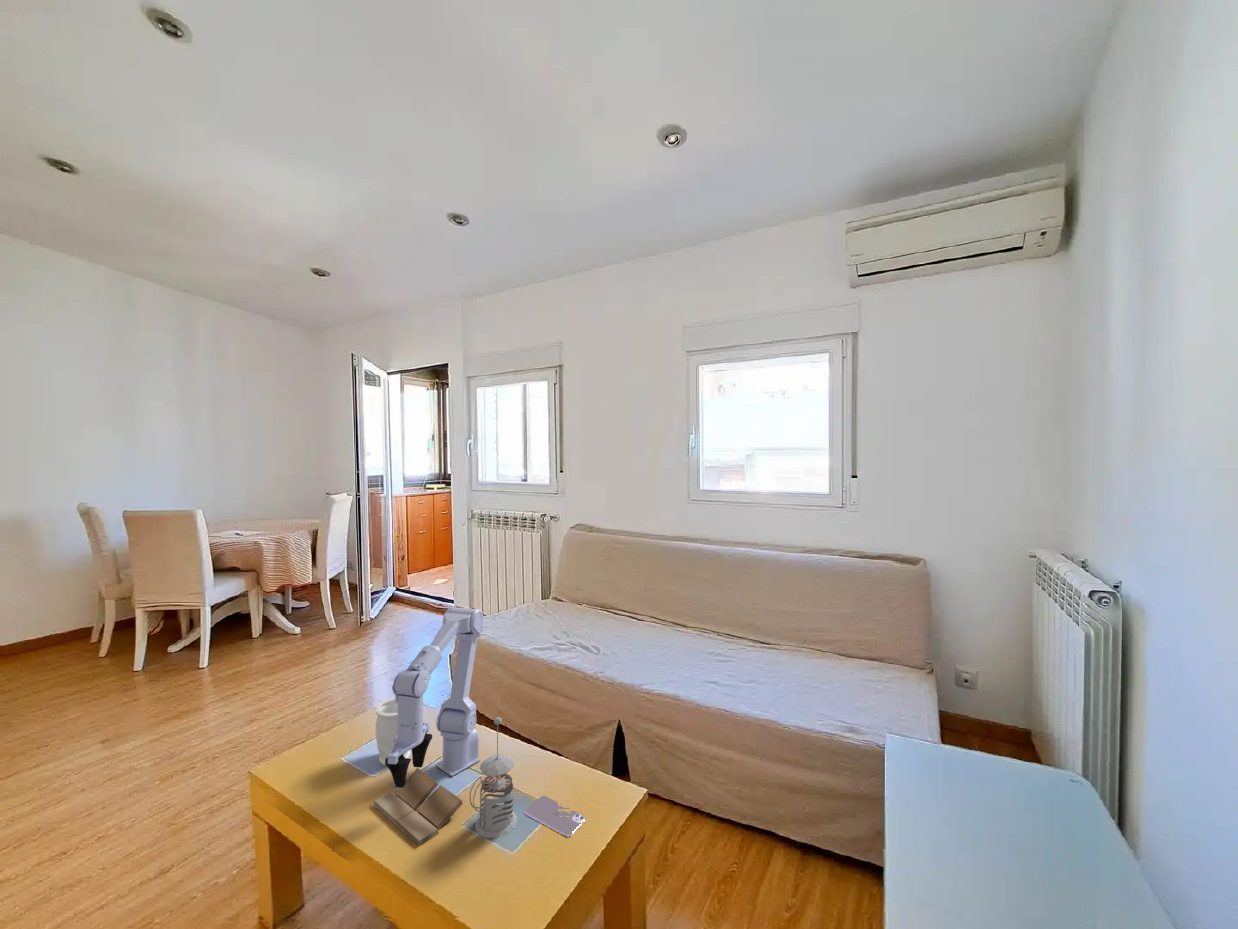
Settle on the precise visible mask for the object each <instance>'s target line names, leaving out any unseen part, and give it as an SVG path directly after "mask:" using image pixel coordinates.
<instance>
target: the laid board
mask: <svg viewBox="0 0 1238 929" xmlns="http://www.w3.org/2000/svg"><path fill="white" fill-rule="evenodd" d="M373 802H374V803H373V806H374V807H375V808H376V809H378V811H380V812H381V813H382V814H383V815H384V816H385V817H386V818H387V819H389V821H391V822H392V824H394V825H395V826H396V827H398V829H400V831H402V832H404V834H405V835H407V836H408V837H409V838H410V839H411V841H413V842H414V843H415V844H417V845H418V846H419V847H420V846H422V845H424V844H426V843H427V842H428V841H429V840H431V839H433V838H434V837H436V836H437V835H439V833H440V832H439V831H440V830H438V829H437V828H436V827H435V826H433V825H432V824H431V823H430V822H429V821H427V820H426V819H425V818H424V817H423V816H421V815H420V814H419V813H418V812H417V810H416V811H415V810H414V809H413V808H412V807H410V806H409V805H408V804H407V803H405V802H404V801H403V800H402V799H401V798H399V797H398V796H397V795H396V794H395V793H394V792H393V791H390V792H388V793H385V795H384V794H383V796H380V797H379V798H377V799H375V800H374V801H373Z"/></svg>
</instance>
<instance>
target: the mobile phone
mask: <svg viewBox="0 0 1238 929" xmlns="http://www.w3.org/2000/svg"><path fill="white" fill-rule="evenodd" d="M558 803H559V802H558V801H557V800H554V799H552V798H550V797H548V796H546V795H541V796H540V797H538V798H537V799H536V800H535V801H533V802H532V803H531V804H530V805H529V806H527V807H526V808H525V809H524V812H523V813H524V815H525V816H527V817H529V818H531V819H533V820H535V821H536V822H538V823H539V824H541V825H543V824H544V825H543V826H545V825H546V826H545V827H547V828H549V829H551V828H552V829H554V830H556V831H557V832H560V833H561V834H564V835H566V836H570V835H573V834H574V833H575V832H576V830H577V829H578V828H580V826H581V825H582V822H585V821H586V820H585V819H586V818H587V817H586V816H585V815H584V814H582V813H579V812H577V810H574V811H571V812H570V811H569V812H570V813H571V814H570V813H568V812H565V811H563V810H562V811H563V812H561V811H558V809H571V808H570V807H568V808H567V806H566V808H564V807H562V806H560V807H559V805H558ZM560 805H561V803H560ZM560 816H562V817H560ZM565 816H570V817H565ZM584 816H585V817H586V818H585V817H584ZM552 829H551V830H552ZM580 829H581V828H580ZM554 830H553V831H554ZM556 831H555V832H556ZM557 832H556V833H557ZM560 833H559V834H560ZM576 833H577V832H576ZM576 833H575V834H576ZM561 834H560V835H561ZM575 834H574V835H575ZM574 835H573V836H574Z"/></svg>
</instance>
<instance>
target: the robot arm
mask: <svg viewBox="0 0 1238 929" xmlns="http://www.w3.org/2000/svg"><path fill="white" fill-rule="evenodd" d="M484 620H485V616H484V614H483V611H482V610H481V609H480V608H465V607H456V606H450V607H448V608H447V610H446V611H445V612H444V614H443V617H442V624H441V627H440V629H439V630H438V632H437V634H436V635H435V636H434V638H433V640H432V642H430V644H429V645H426V646H423V647H422V648H421V650H420V651H419V652H418V654H417V655H416V656H415V658H414V659H413V661H412V662H411V663H410V664H409V666H408V667H407V668H406V669H404V670H401V671H400V672H398V673H397V674H396V676H395V678H394V680H393V684H392V687H391V690H392V693H393V695H394V696H395V698H394V699H395V701H396V702H397V703H398V715H397V736H395V737H394V738H393V742H395V744H394V747H393V749H392V751H391V753H390V754H389V755H388V757H387V758H386V759H385V764H386V765H385V766H386V767H387V768H388V770H389V771H390V774H391V776H392V779H393V784H394V786H395V788H403V787H404V786H405V783H406V780H407V774H408V769H409V766H410V763H411V762H412V765H413V768H418V769H420V768H423V765H424V762H425V757H426V754H427V750H428V748H429V746H430V743H431V741H432V740H433V734H432V733H429V732H430V722H423V720H424V694H425V693H426V691H427V689H428V687H429V684H430V681H431V679H432V674H433V672H434V671H435V669H436V668H437V667H438V665H439V664H440V662H441V660H442V658H443V657H442V653H443V651H444V650H445V648H447V646H448V645H449V644H450V643H451V641H453V639H454V638H455V637H456V638H457V639H458V640H459V641H458V647H457V654H456V660H455V666H454V671H453V679H452V683H451V692H450V697H449V698H448V699H446V700H445V701H443V703H441V706H440V710H439V713H438V715H437V718H436V721H435V722H436V725H435V726H436V729H437V731H438V732H440V736H442V760H441V761H439V762H436V764H435V766H436V767H437V768H438V769H440V770H442V772H444V773H446V774H447V775H449V776H450V777H454V776H456V775H457V774H459V773H461V772H463V771H464V770H467V768H469V767H472V766H473V765H475V764H476V763H478V762H480V760H481V759H480V757H479V740H480V739H479V734H478V731H477V728H475V727H476V725H477V704H476V703H475V702H474V701H472V699H471V698H470V691H471V683H472V677H473V670H474V663H475V658H476V657H475V655H476V650H477V643H478V639H479V638H481V637H482V633H483V632H482V631H483V627H484V626H483V625H484ZM409 750H410V751H411V755H412V757H411V758H410V757H409V758H405V756H404V753H406V752H407V751H409ZM411 760H412V761H411Z"/></svg>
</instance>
